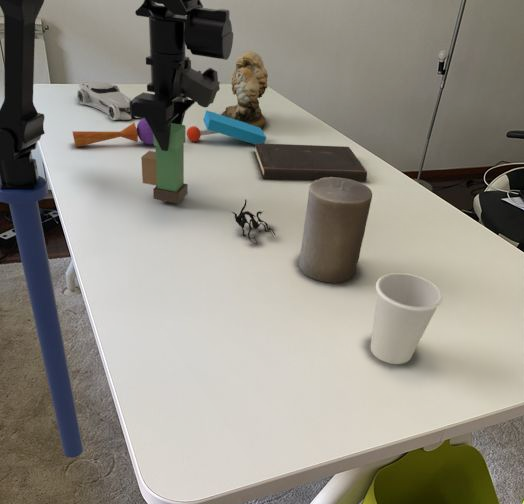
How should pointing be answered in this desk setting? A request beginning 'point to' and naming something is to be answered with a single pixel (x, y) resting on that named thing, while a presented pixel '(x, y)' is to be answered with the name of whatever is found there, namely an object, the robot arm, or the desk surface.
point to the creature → (242, 220)
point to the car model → (105, 99)
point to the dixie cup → (402, 315)
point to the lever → (227, 129)
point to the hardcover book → (308, 162)
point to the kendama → (116, 134)
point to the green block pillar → (167, 167)
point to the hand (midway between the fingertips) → (169, 146)
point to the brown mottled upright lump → (248, 90)
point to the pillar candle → (334, 228)
